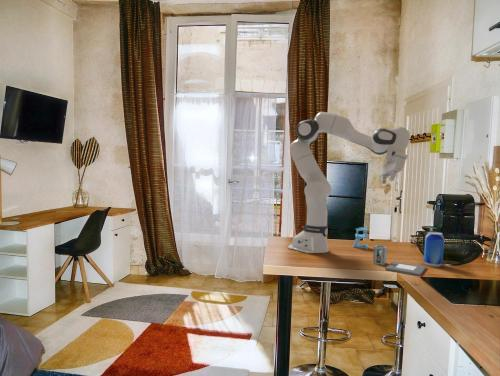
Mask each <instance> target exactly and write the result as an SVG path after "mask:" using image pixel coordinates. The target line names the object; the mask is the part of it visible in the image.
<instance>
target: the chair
mask: <svg viewBox="0 0 500 376" xmlns="http://www.w3.org/2000/svg"><path fill="white" fill-rule="evenodd" d="M355 230H356V233H355V234H354V235H355V236H354V237H355V239H354V242H353V244H352V246H353V248H357V249H363V250H369V246H368V244H359V243H358V242H359V241H360V240H361V239H368V235H367V233H368V231H369V230H368V228H367V227H363V226H360V227H358V228H355ZM361 231H362V232H364V233H363V234H359V232H361Z"/></svg>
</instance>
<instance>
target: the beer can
mask: <svg viewBox="0 0 500 376" xmlns="http://www.w3.org/2000/svg"><path fill="white" fill-rule="evenodd" d="M444 246H445V237H444V235H443V232H439V231H438V232H437V231H428V232H427V234H426V235H425V239H424V250H423V251H424V254H423V262H424V265H425V266H428V267H435V268H437V267H441V266H442V264H443V262H444V261H443V260H444Z"/></svg>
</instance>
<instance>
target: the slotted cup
mask: <svg viewBox="0 0 500 376" xmlns="http://www.w3.org/2000/svg"><path fill="white" fill-rule="evenodd" d="M379 251H381V261H380V262H377V256H379V255H378V252H379ZM387 253H388V246H387V245H381V244H375V245H374V246H373V259H372V260H373V264H375V265H379V264H380V265H381V266H384V265H386V264H387V256H388V255H387ZM385 263H386V264H385Z"/></svg>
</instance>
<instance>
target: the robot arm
mask: <svg viewBox="0 0 500 376" xmlns="http://www.w3.org/2000/svg"><path fill="white" fill-rule="evenodd" d="M295 133H296V136H297V138H296V140H294V141H292V142H291V143H290V145H289V151H290V155H291V159H292V161H293V162H294V165H295V167H296V169H297V171H298V173H299V176H300V177H301V178H302V179H303V180H304V182H305V183H306V186H305V187H304V191H303V192H304V193H303V194H304V196H305V203H306V224H304V225H302V227H301V228H302V229H303V230H301V232H299V233H297V234H296V235H295V236H294V237H292V238H293V239H292V242H291V244H289V245H288V246H287V249H290V250H292V251H297V252H301V253H307V254H325V253H329V247H328V238H327V237H328V231H329V230H328V228H329V227H328V208H327V198H329V196H331V195H330V194H331V193H332V191H333V190H332V185H331V184H330V182H329V181H328V179H327V177H326V176H325V174H324V172H323V171H322V170H321V168H320V167H319V164H318V163H317V161H316V158H315V156H314V154H313V152H312V150H311V148H310V146H311V145H312V144H313V143H315V142H316V141H317V139H318V138H319V134H320V133H325V134H329V135H332V136H335V137H339V138H341V139H345V140H346V141H348V142H351V143H354V144H357V145H359V146H361V147H364V148H367V149H368V150H370V151H371V152H372V153H373V154H375V155H378V156H380V155H381V156H382V155H385V157H384V160H385V162H384V163H383V164H382V166H381V169H380V171H379V177H380V178H381V184H382V185H386V183H387V178H389V179H388V180H389V181H390V182H393V181H394V180H395V178H396V176H397V175H398V173H400V172H402V171H403V168H404V166H405V164H406V160H408V157H409V155H408V154H406V150H407V148H408V146H409V142H410V136H411V135H410V131H409V130H408V129H406V128H405V127H403V126H397V127H394V128H393V127H392V128H384V127H383V128H378V129H376V130H375V131H374V132H373V134H372V136H370V135H367V134H364V133H363V132H360V131H358V130H357V129H355V127H354V125H353V124H352V122H351V121H350V119H349V118H347V117H345V116H343V115H339V114H337V113H332V112H326V111H325V112H324V111H319V112H318V113H317V114H316V115H315V117H314V118H310V119H305V120H302V121H300V122H299V123H298V124H297V125H296V128H295Z"/></svg>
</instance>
